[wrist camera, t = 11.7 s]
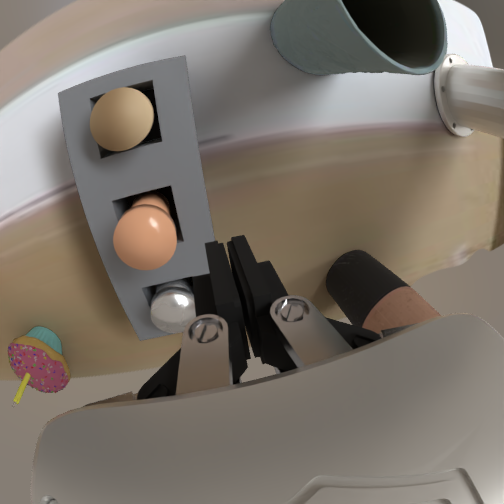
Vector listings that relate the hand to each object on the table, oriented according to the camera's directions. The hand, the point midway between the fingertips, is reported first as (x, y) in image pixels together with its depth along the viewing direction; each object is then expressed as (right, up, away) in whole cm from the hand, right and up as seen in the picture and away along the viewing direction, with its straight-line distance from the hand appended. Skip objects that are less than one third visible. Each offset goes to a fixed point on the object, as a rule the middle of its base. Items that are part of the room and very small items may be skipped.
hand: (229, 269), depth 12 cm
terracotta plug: (-7, +4, +9) cm, 12 cm away
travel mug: (+13, -2, +22) cm, 26 cm away
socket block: (-8, +5, +11) cm, 14 cm away
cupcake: (-25, -10, +14) cm, 31 cm away
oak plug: (-8, +11, +7) cm, 16 cm away
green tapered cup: (+6, +21, +7) cm, 23 cm away
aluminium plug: (-7, -2, +14) cm, 16 cm away
